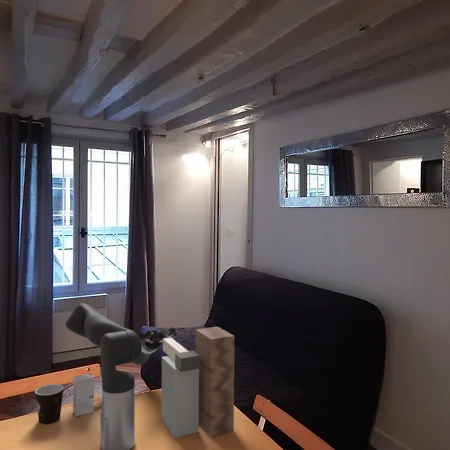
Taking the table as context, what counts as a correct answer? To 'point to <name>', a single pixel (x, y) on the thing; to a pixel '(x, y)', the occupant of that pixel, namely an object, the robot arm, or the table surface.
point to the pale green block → (179, 399)
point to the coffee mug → (49, 403)
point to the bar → (181, 355)
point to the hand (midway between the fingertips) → (161, 331)
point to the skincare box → (83, 394)
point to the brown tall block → (216, 380)
